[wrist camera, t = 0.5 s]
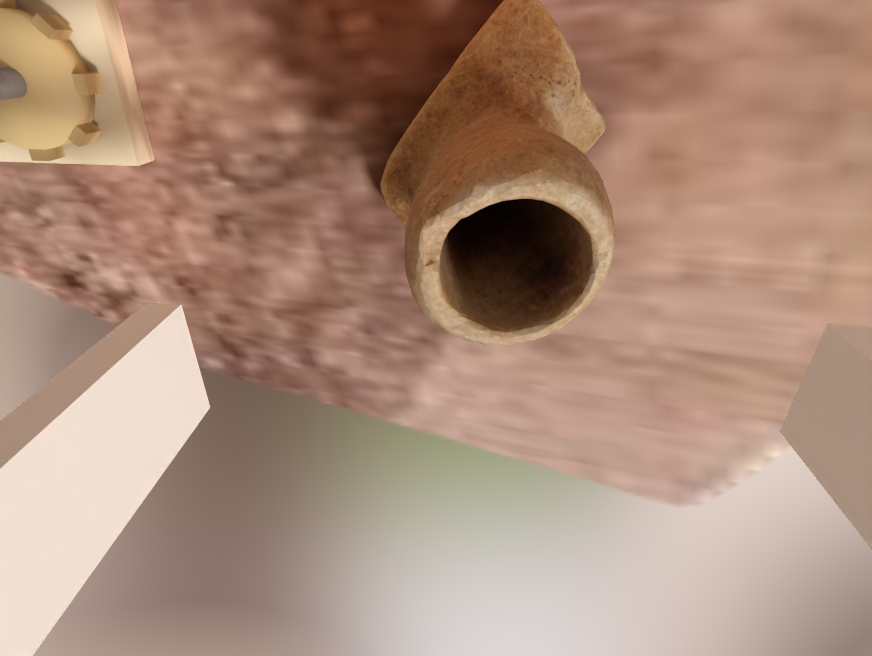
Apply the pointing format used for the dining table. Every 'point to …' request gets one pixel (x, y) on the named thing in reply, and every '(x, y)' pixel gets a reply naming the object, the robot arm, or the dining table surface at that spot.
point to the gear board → (115, 81)
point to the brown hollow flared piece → (504, 186)
